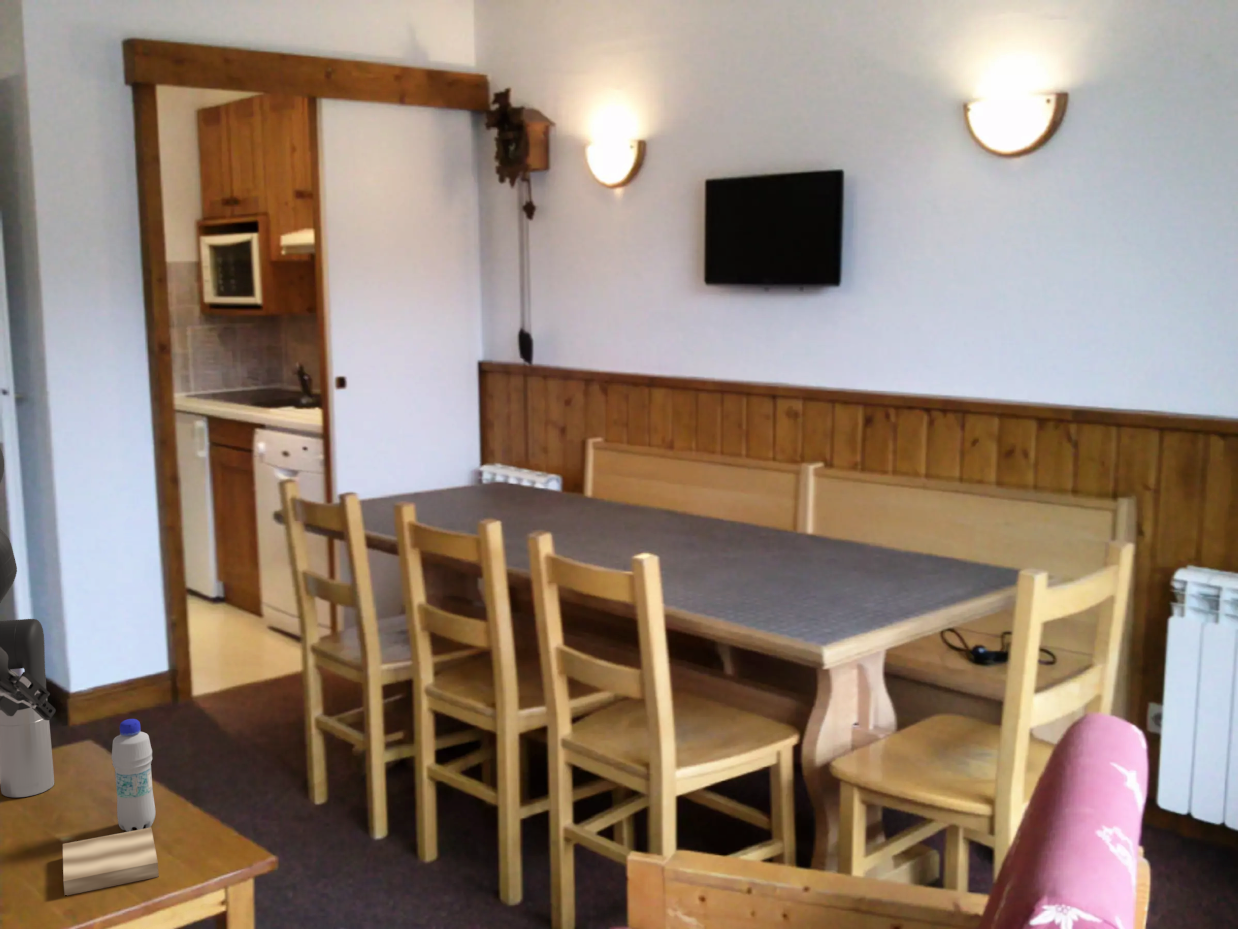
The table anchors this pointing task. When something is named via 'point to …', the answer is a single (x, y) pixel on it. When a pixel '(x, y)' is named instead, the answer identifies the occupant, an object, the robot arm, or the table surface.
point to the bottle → (133, 777)
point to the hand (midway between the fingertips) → (32, 713)
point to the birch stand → (109, 861)
